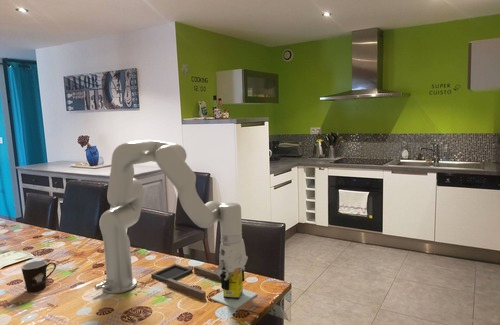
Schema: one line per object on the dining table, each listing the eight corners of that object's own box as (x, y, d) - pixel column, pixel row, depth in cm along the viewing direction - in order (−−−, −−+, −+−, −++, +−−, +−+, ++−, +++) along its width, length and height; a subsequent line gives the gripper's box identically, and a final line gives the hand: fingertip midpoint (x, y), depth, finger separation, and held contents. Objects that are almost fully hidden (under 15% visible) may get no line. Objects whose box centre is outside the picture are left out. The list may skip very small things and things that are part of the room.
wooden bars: (202, 299, 128) (202, 293, 128) (167, 285, 140) (166, 279, 140) (231, 283, 141) (231, 277, 140) (196, 271, 153) (196, 265, 153)
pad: (236, 308, 121) (236, 307, 121) (210, 299, 128) (210, 297, 128) (257, 294, 130) (257, 293, 130) (232, 286, 138) (232, 285, 138)
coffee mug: (22, 296, 136) (19, 271, 135) (24, 287, 143) (22, 263, 142) (57, 288, 141) (54, 264, 140) (57, 280, 149) (55, 257, 147)
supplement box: (239, 299, 126) (238, 270, 125) (223, 298, 127) (222, 269, 126) (243, 291, 132) (242, 263, 130) (227, 290, 133) (226, 262, 132)
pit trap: (168, 283, 142) (168, 280, 142) (151, 277, 149) (151, 274, 149) (192, 272, 152) (192, 269, 152) (175, 266, 159) (175, 263, 159)
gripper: (222, 247, 118) (224, 297, 120) (254, 233, 131) (255, 278, 133) (206, 242, 122) (208, 291, 124) (239, 229, 136) (240, 273, 138)
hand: (233, 284), depth 129 cm, fingers closed on supplement box, 7 cm apart
